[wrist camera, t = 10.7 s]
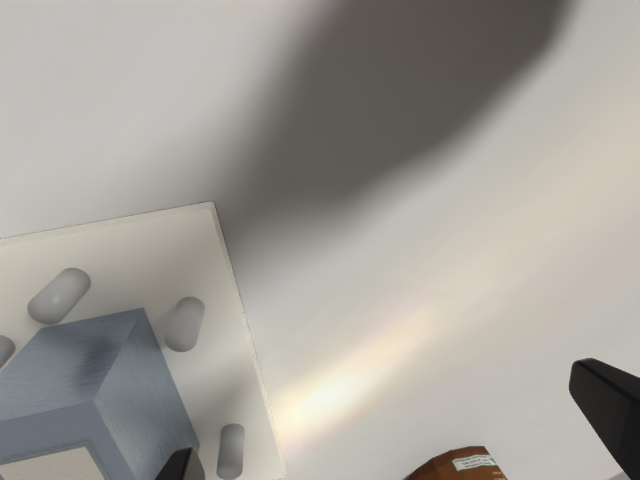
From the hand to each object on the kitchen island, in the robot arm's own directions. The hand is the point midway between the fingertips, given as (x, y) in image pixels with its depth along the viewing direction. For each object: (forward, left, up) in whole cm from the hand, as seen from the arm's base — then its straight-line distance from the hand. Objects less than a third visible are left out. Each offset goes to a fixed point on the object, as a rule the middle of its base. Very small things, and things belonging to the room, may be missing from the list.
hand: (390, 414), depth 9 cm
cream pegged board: (+12, +7, -12) cm, 18 cm away
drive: (+12, +7, -11) cm, 17 cm away
